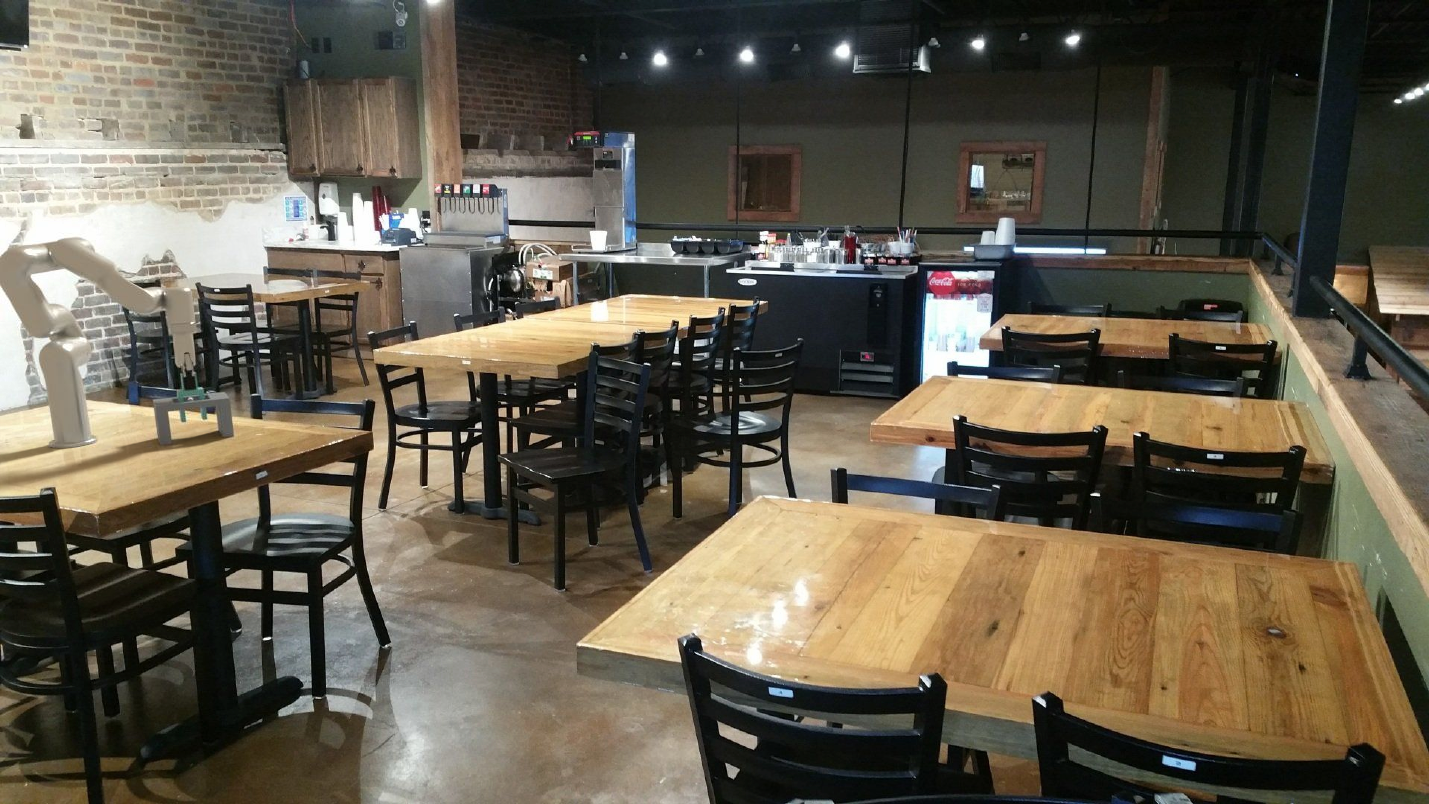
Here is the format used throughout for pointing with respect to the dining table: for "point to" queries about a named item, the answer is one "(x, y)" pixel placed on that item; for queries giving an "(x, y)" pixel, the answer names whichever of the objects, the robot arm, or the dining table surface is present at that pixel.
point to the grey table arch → (191, 403)
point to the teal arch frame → (196, 391)
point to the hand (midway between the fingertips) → (189, 388)
